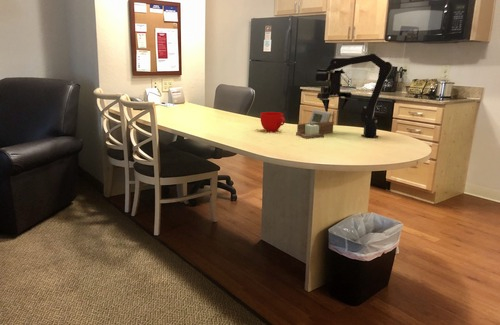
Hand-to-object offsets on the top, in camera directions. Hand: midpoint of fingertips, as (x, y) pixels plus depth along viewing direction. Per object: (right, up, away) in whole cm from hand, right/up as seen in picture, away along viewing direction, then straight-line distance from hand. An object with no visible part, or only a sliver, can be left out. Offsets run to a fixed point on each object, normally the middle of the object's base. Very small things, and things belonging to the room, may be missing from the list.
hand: (333, 111), depth 212 cm
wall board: (-8, -13, -1) cm, 15 cm away
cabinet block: (-12, -14, -3) cm, 19 cm away
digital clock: (-5, -8, +19) cm, 21 cm away
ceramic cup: (-32, -10, +10) cm, 35 cm away
